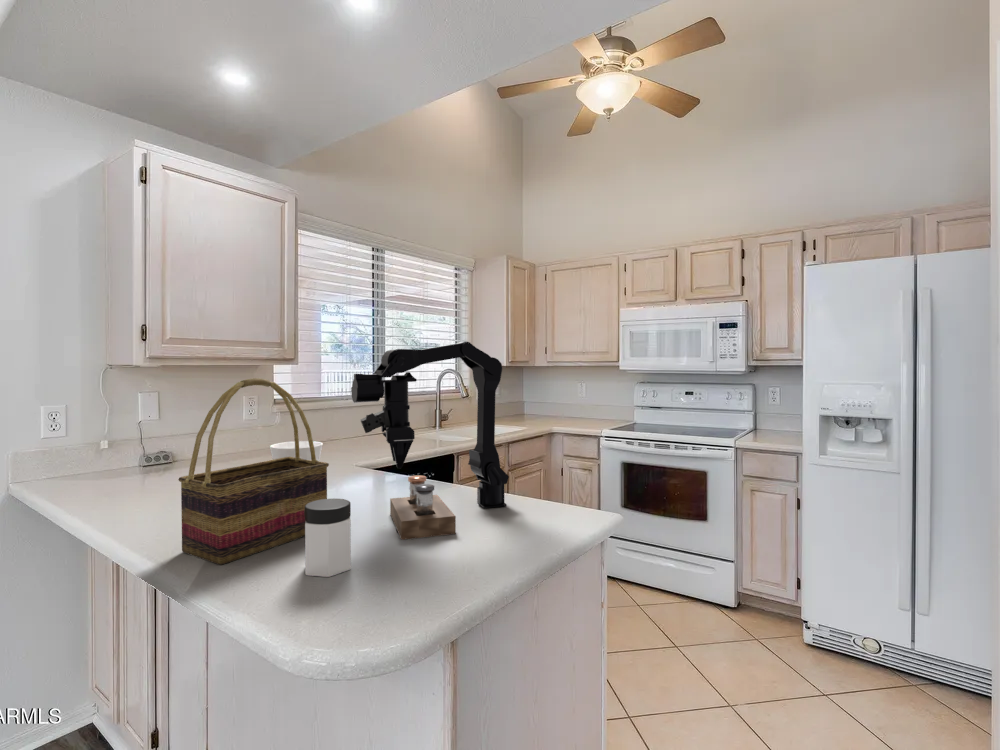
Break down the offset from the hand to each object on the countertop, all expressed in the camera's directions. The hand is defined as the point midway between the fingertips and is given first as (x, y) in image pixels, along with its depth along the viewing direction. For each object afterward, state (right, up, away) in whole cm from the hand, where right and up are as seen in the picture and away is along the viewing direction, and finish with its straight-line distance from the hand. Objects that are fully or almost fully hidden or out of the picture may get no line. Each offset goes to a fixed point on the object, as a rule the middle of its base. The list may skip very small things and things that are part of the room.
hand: (397, 464), depth 124 cm
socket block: (+6, -14, -3) cm, 15 cm away
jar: (-7, -14, -30) cm, 34 cm away
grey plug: (+8, -10, -8) cm, 15 cm away
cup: (-31, -13, +17) cm, 38 cm away
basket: (-27, -14, -14) cm, 34 cm away
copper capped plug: (+5, -10, +2) cm, 11 cm away
